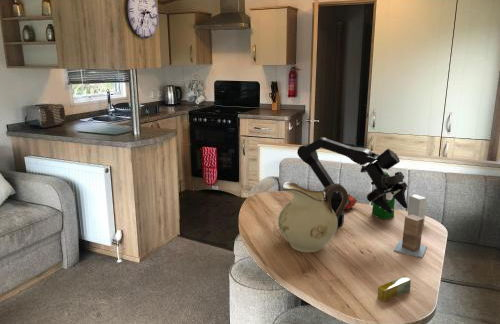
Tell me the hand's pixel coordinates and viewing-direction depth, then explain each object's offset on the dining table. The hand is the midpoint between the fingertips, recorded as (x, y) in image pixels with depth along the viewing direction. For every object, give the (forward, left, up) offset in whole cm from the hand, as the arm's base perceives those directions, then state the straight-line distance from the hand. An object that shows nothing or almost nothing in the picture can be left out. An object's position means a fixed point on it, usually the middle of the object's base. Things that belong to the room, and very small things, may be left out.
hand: (399, 210), depth 151 cm
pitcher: (-29, -20, -14) cm, 38 cm away
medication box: (+7, -36, -14) cm, 40 cm away
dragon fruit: (-29, +25, -14) cm, 41 cm away
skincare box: (+3, +25, -14) cm, 29 cm away
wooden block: (+6, -3, -13) cm, 15 cm away
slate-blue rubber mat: (+6, -3, -14) cm, 15 cm away
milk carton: (-11, +25, -14) cm, 31 cm away
